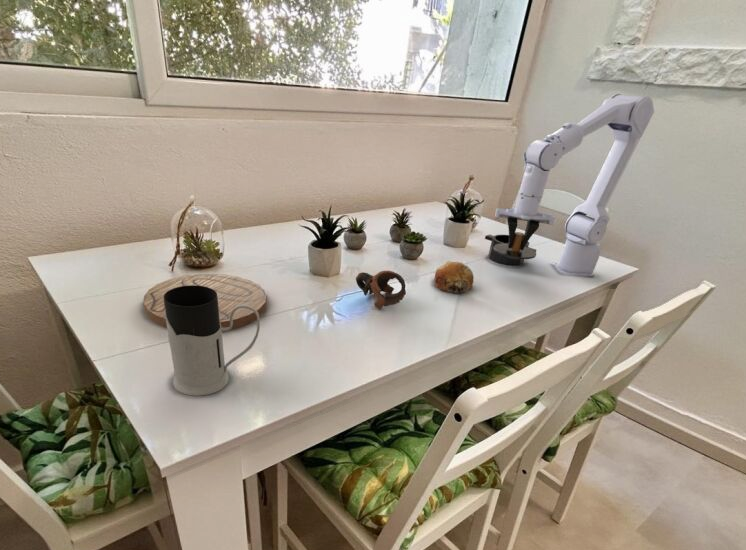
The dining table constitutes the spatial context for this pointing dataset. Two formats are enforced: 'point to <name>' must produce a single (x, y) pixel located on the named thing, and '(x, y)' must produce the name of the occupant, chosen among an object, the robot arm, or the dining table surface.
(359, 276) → the brown curved loop
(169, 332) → the glass holder
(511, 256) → the lid
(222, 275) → the trivet
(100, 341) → the dining table surface
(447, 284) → the bread roll
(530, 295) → the dining table surface
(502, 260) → the pot
